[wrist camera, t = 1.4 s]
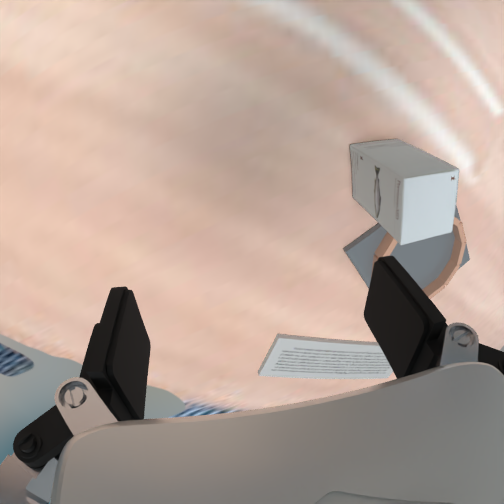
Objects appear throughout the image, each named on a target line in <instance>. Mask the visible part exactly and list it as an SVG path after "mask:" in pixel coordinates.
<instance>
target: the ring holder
mask: <svg viewBox="0 0 504 504" xmlns="http://www.w3.org/2000/svg"><path fill="white" fill-rule="evenodd" d="M343 249H344V251H345V252H346V254H347V255H348V257H349V258H350V260H351V261H352V263H353V265H354V266H355V268H356V269H357V271H358V272H359V274H360V275H361V277H362V279H363V280H364V282H365V283H366V285H367V286H368V288H369V287H370V282H371V277H372V272H373V266H374V263H375V262H376V261H377V260H378V258H379V257H384V256H394V257H395V258H396V259H397V261H398V262H399V263H400V264H401V265H402V266H403V267H404V269H405V270H406V271H407V272H408V273H409V274H410V276H411V277H412V278H413V279H414V280H415V282H416V283H417V284H418V285H419V286H420V288H421V289H422V290H423V291H424V293H425V294H426V295H427V296H428V297H429V299H431V298H432V297H434V296H435V295H436V294H437V293H439V292H440V291H441V290H442V289H444V288H445V285H446V286H447V285H448V283H449V282H450V280H451V279H452V277H453V276H454V274H455V273H456V271H457V270H458V269H459V268H460V267H462V266H463V265H464V264H465V263H466V262H468V261H469V260H470V258H469V254H468V249H467V245H466V237H465V233H464V229H463V225H462V222H461V221H460V217H459V213H458V210H457V206H456V207H455V215H454V223H453V230H452V232H451V233H447V234H443V235H439V236H435V237H431V238H427V239H423V240H420V241H416V242H412V243H408V244H404V245H400V244H399V243H398V242H397V241H396V240H395V239H394V238H393V237H392V236H391V235H390V234H389V233H388V232H387V231H386V230H385V229H384V228H383V227H382V226H381V225H380V224H379V223H378V224H376V225H375V226H374V227H372V228H371V229H370V230H368V231H367V232H365V233H364V234H363V235H361V236H360V237H359V238H357V239H356V240H354V241H353V242H352V243H350V244H349V245H347V246H346V247H345V248H343Z"/></svg>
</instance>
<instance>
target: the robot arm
mask: <svg viewBox="0 0 504 504" xmlns="http://www.w3.org/2000/svg"><path fill="white" fill-rule="evenodd" d="M364 318H365V321H366V322H367V324H368V326H369V328H370V330H371V331H372V333H373V335H374V337H375V338H376V340H377V342H378V344H379V346H380V348H381V349H382V351H383V353H384V355H385V357H386V359H387V360H388V362H389V364H390V366H391V368H392V370H393V372H394V373H395V375H396V377H397V379H395V380H392V381H388V382H385V383H381V384H378V385H374V386H370V387H367V388H363V389H359V390H355V391H351V392H346V393H342V394H338V395H333V396H329V397H324V398H319V399H315V400H310V401H304V402H299V403H294V404H288V405H282V406H276V407H270V408H263V409H256V410H249V411H241V412H233V413H224V414H214V415H202V416H190V417H176V418H160V419H144V408H145V397H146V386H147V376H148V366H149V357H150V340H149V337H148V334H147V332H146V329H145V326H144V323H143V320H142V318H141V315H140V312H139V309H138V306H137V303H136V300H135V297H134V294H133V291H132V290H128V288H127V287H115V288H111V290H110V293H109V296H108V299H107V302H106V305H105V308H104V311H103V314H102V318H101V321H100V323H97V324H96V325H95V326H94V329H93V332H92V335H91V338H90V342H89V345H88V348H87V352H86V355H85V359H84V362H83V366H82V370H81V373H80V377H79V378H78V377H75V378H70V379H68V380H66V381H64V382H63V383H62V384H60V386H59V387H58V389H57V390H56V393H55V403H56V405H55V406H54V407H52V408H51V409H50V410H48V411H47V412H45V413H44V414H43V415H42V416H40V417H39V418H37V419H36V420H35V421H33V422H32V423H30V424H29V425H28V426H26V427H25V428H24V429H22V430H21V431H20V432H19V433H18V434H17V436H16V437H15V440H14V443H13V449H14V453H13V455H12V456H10V455H8V456H7V457H6V458H5V460H4V461H3V462H2V464H1V465H0V504H49V501H50V499H51V503H50V504H504V352H502V351H499V350H496V349H494V348H491V347H488V346H485V345H482V344H480V343H479V339H478V335H477V333H476V332H475V331H474V329H473V328H471V327H470V326H468V325H466V324H464V323H452V324H450V325H449V326H448V325H447V324H446V323H445V322H446V319H445V318H444V316H443V315H442V314H441V313H440V311H439V310H438V309H437V307H436V306H435V305H434V304H433V302H432V301H431V300H430V299H429V297H428V296H427V295H426V294H425V293H424V291H423V290H422V289H421V288H420V286H419V285H418V284H417V283H416V282H415V280H414V279H413V278H412V277H411V276H410V274H409V273H408V272H407V271H406V270H405V269H404V267H403V266H402V265H401V264H400V263H399V262H398V261H397V259H396V258H395V257H394V256H384V257H379V258H378V260H377V261H376V262H375V263H374V266H373V272H372V277H371V282H370V287H369V291H368V296H367V301H366V305H365V310H364Z"/></svg>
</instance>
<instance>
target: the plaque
mask: <svg viewBox="0 0 504 504" xmlns="http://www.w3.org/2000/svg"><path fill="white" fill-rule="evenodd" d="M392 372H393V370H392V368H391V366H390V364H389V362H388V360H387V359H386V357H385V355H384V353H383V351H382V349H381V348H380V346H379V344H378V342H365V341H350V340H338V339H326V338H315V337H305V336H296V335H286V334H277V336H276V338H275V340H274V342H273V344H272V345H271V347H270V349H269V351H268V353H267V355H266V357H265V359H264V361H263V363H262V365H261V367H260V368H259V370H258V375H259V376H271V377H289V378H314V379H376V378H388V377H389V376H390V375H391V373H392Z"/></svg>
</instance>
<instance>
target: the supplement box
mask: <svg viewBox="0 0 504 504" xmlns="http://www.w3.org/2000/svg"><path fill="white" fill-rule="evenodd" d="M350 153H351V164H352V187H353V193H352V194H353V195H352V196H353V198H354V199H355V200H356V201H357V202H358V203H359V204H360V205H361V206H362V207H363V208H364V209H365V210H366V211H367V212H368V213H369V214H370V215H371V216H372V217H373V218H374V219H375V220H376V221H377V222H378V223H379V224H380V225H381V226H382V227H383V228H384V229H385V230H386V231H387V232H388V233H389V234H390V235H391V236H392V237H393V238H394V239H395V240H396V241H397V242H398V243H399V244H400V245H404V244H408V243H412V242H416V241H420V240H423V239H427V238H431V237H435V236H439V235H443V234H447V233H451V232H452V230H453V223H454V215H455V207H456V200H457V189H458V178H459V169H458V168H457V167H455V166H453V165H451V164H449V163H447V162H445V161H443V160H441V159H439V158H437V157H435V156H433V155H431V154H429V153H427V152H425V151H423V150H421V149H419V148H417V147H414V146H412V145H410V144H408V143H406V142H404V141H401V140H399V139H390V140H381V141H372V142H364V143H356V144H350Z"/></svg>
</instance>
